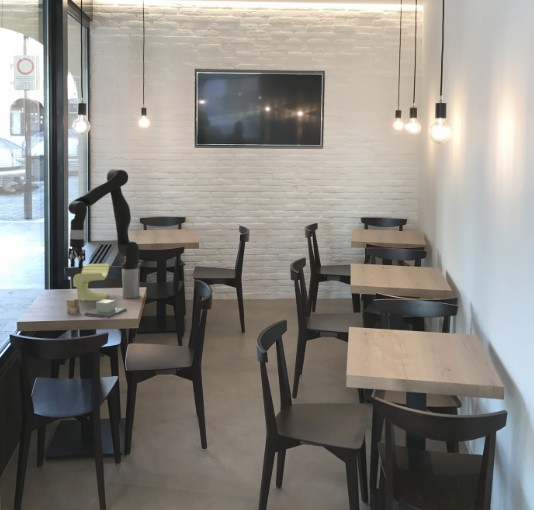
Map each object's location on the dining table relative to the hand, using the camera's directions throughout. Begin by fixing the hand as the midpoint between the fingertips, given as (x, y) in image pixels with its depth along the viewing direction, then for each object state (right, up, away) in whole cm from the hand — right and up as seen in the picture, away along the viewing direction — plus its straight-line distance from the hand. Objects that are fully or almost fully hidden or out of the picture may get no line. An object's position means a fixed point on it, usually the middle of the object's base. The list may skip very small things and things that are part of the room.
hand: (76, 267), depth 391 cm
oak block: (-1, -24, -4) cm, 24 cm away
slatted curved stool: (+2, -19, +30) cm, 35 cm away
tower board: (+17, -24, -6) cm, 30 cm away
